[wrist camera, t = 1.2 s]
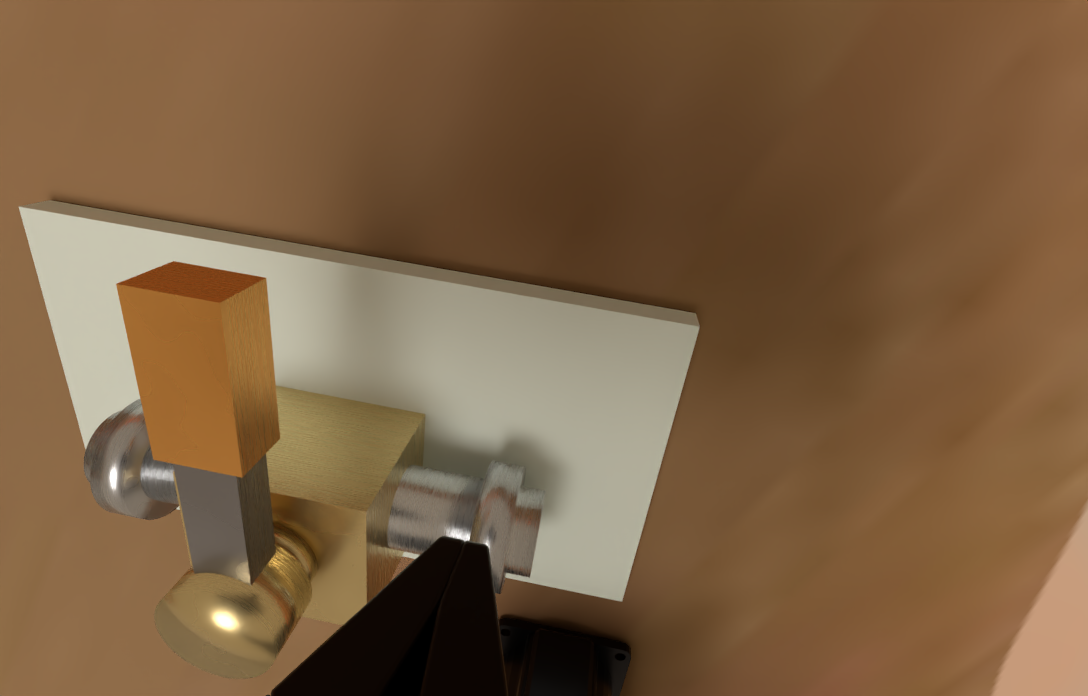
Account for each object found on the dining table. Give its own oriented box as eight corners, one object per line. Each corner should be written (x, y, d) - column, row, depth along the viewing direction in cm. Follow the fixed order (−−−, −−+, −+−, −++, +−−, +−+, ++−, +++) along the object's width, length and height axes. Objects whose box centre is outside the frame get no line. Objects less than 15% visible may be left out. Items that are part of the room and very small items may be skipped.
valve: (555, 438, 21) (531, 561, 16) (537, 541, 23) (510, 680, 18) (151, 361, 22) (-3, 452, 17) (172, 467, 24) (42, 577, 19)
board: (622, 579, 25) (622, 601, 24) (118, 476, 27) (97, 492, 26) (696, 313, 19) (700, 326, 18) (50, 200, 21) (18, 206, 20)
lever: (315, 627, 18) (279, 689, 16) (212, 605, 18) (165, 664, 16) (292, 282, 13) (236, 316, 11) (148, 256, 13) (70, 284, 11)
